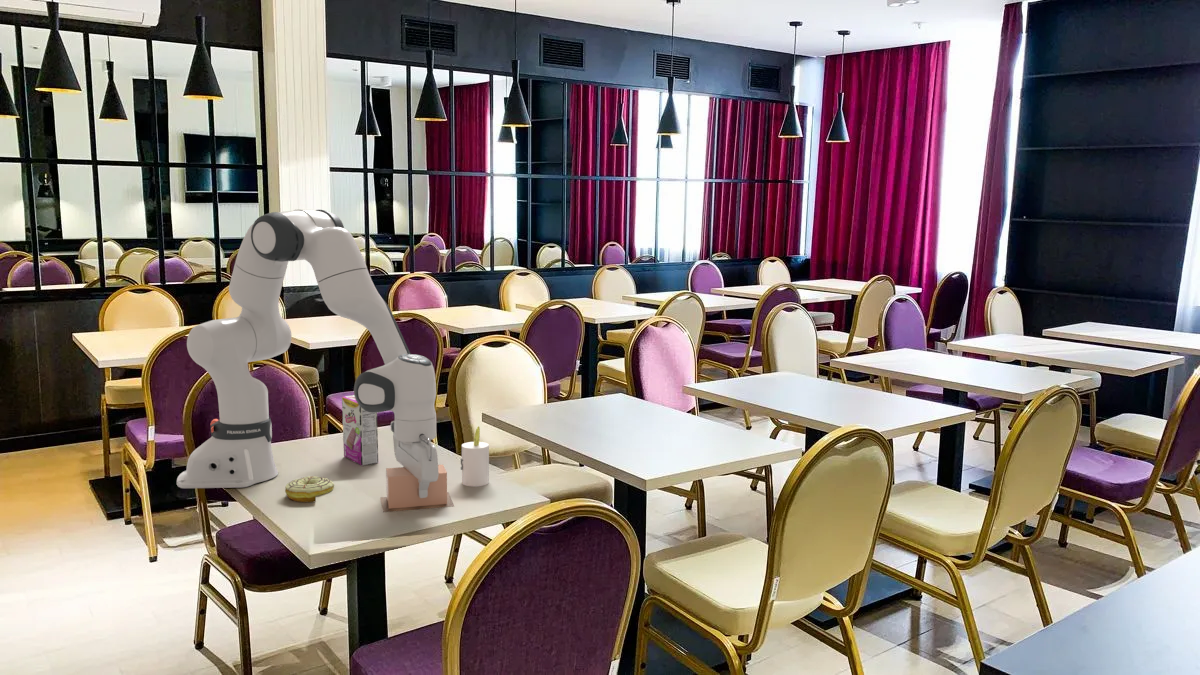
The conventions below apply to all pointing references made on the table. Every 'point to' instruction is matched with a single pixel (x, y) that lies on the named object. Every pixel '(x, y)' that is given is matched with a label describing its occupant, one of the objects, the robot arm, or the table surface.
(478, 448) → the candle
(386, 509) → the marble board
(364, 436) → the candy bar box
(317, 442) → the table surface
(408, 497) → the peach brick
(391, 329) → the robot arm
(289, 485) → the decorated donut
